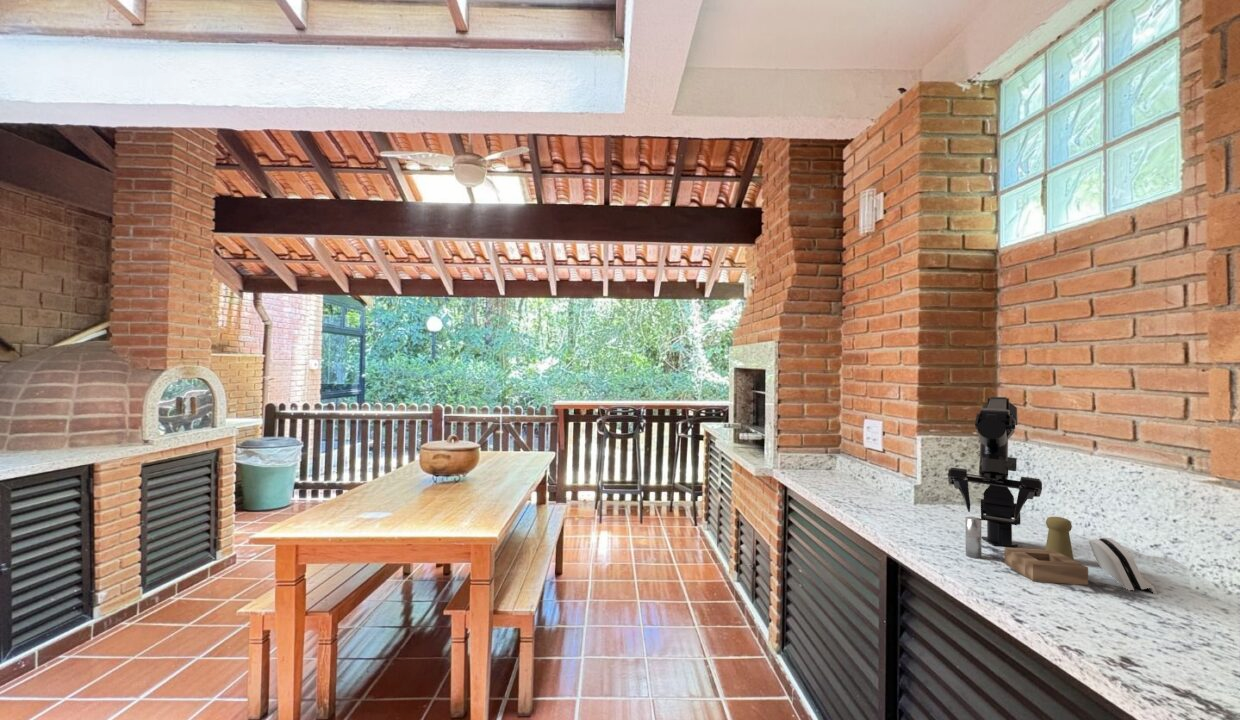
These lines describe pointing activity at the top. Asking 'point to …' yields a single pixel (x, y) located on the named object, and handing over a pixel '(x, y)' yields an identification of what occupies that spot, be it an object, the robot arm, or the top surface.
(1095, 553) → the grey black curved wedge
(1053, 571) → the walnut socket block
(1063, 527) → the cork
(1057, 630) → the top surface
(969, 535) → the grey metal peg
